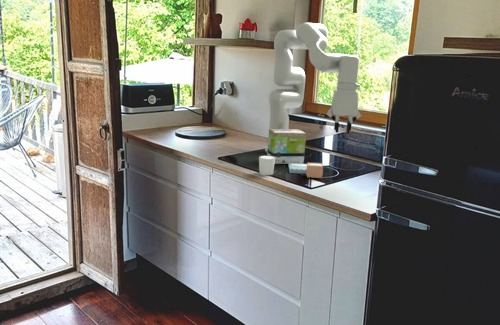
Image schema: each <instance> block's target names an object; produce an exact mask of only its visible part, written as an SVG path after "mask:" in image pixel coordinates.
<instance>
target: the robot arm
mask: <svg viewBox="0 0 500 325" xmlns="http://www.w3.org/2000/svg"><path fill="white" fill-rule="evenodd" d="M328 35H329V32H328V29H327V27H326V26H325V25H324V24H322V23H315V22H314V23H313V22H303V23H301V24H299V25H298V26H297V28H296V29H284V30H282V29H281V30H279V31H278V32H277V33H276V34H275V37H274V41H273V49H274V70H273V82H274V84H275V85H276V86H279V87H291V88H276V89H274V90H272V91H270V92H269V96H268V103H269V129H289V128H290V127H289V125H290V124H289V123H290V117H289V114H288V112H287V109H298V108H300V107H301V106H302V105H303V102H304V97H305V88H306V87H305V85H306V74H305V73H306V72H305V71H304V69H303V68H301V67H299V66H293V62H294V59H293V58H294V57H293V54H292V52H291V50H308V59H309V61H310V63H311V65H312V66H314V68H315V69H316V70H317V71H319V72H321V73H334V74H335V73H336V74H337V81H336V82H337V85H336V89H334V90H333V93H332V94H333V95H332V99H331V106H330V109H329V110H328V111H327V112H326V115H327V116H328V117H329V118H331V119H332V120H333V122H334V127H333V129H334V131H335V133H339V130H340V129H339V128H340V123H339V119H340V116H345V117H346V116H347V118H348V120H347V122H346V133H347V134H350V131H352V124H353V122H355V121H356V120H358V119H359V118H361V117H362V114H361V113H360V110H359V93H358V90H357V89H360V88H361V84H358V83H357V82H358V75H359V74H358V72H359V65H360V64H359V61H360V57H359V56H358V55H354V54H353V55H352V54H344V53H325V51H326V49H327V47H328V45H329V44H328ZM290 49H291V50H290ZM269 129H268V130H269ZM267 150H268V147H265V149H264V152H265V153H267Z"/></svg>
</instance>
